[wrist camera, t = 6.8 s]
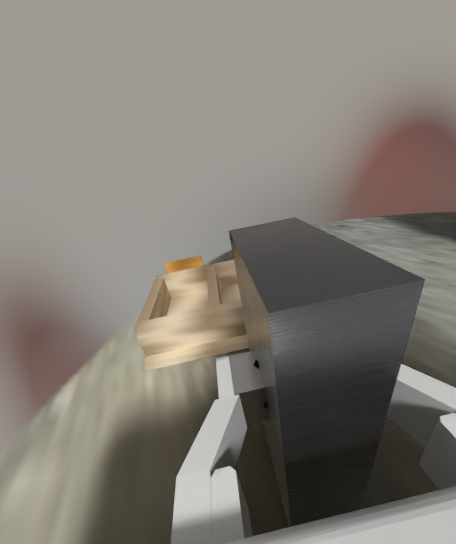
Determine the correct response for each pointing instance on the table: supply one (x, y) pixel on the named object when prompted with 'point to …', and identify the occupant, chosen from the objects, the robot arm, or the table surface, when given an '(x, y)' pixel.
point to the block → (322, 356)
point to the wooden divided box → (192, 314)
